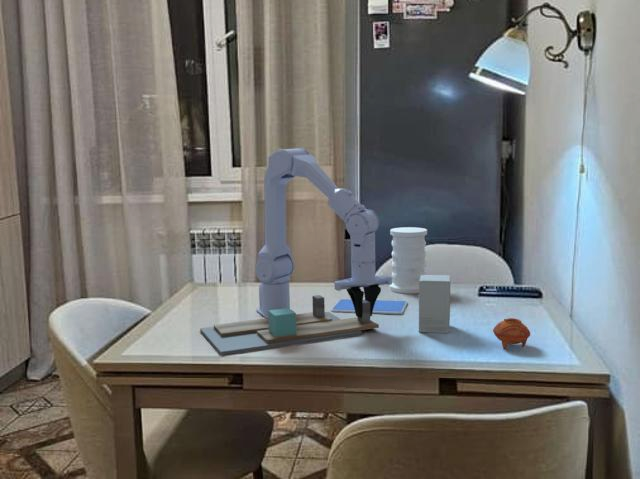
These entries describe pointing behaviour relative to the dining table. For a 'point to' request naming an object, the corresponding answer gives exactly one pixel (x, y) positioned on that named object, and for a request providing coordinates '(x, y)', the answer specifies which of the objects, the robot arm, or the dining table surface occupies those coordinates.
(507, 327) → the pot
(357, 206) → the robot arm
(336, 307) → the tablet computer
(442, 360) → the dining table surface
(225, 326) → the strip
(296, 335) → the strip
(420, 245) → the decorative container
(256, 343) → the lane board
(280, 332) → the teal block
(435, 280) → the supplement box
